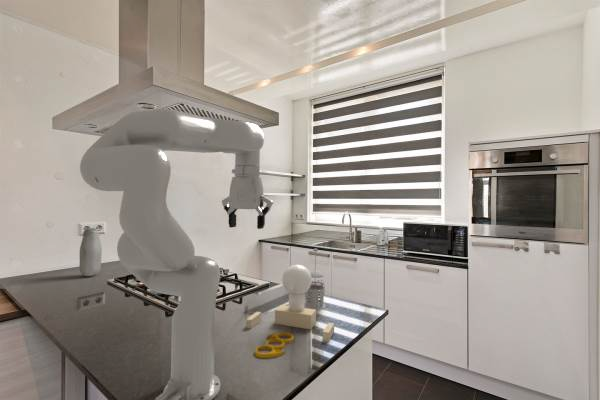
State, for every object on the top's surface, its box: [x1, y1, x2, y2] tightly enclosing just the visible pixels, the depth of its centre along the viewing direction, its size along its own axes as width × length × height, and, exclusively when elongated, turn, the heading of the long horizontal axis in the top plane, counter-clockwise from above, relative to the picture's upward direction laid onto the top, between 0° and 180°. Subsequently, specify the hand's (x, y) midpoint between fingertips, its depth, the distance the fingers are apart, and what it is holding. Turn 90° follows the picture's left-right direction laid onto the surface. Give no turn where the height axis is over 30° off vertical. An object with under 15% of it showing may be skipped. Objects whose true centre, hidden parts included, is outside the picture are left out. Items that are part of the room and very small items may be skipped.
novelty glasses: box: [254, 332, 295, 359], centre depth 93 cm, size 17×2×10 cm
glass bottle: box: [79, 227, 103, 277], centre depth 173 cm, size 10×10×28 cm
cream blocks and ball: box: [245, 263, 335, 343], centre depth 109 cm, size 16×30×22 cm, turn 71°
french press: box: [305, 248, 327, 311], centre depth 129 cm, size 10×12×25 cm
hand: (246, 227), depth 93 cm, fingers open, 9 cm apart
